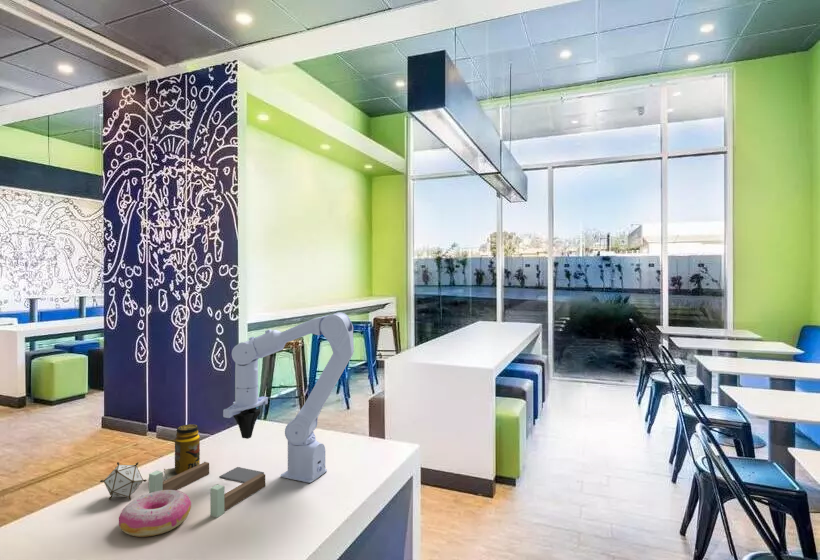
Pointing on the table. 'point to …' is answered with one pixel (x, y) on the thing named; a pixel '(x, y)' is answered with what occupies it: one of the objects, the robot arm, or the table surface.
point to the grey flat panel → (240, 474)
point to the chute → (217, 496)
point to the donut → (155, 513)
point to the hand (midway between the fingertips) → (246, 437)
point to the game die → (123, 481)
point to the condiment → (185, 450)
